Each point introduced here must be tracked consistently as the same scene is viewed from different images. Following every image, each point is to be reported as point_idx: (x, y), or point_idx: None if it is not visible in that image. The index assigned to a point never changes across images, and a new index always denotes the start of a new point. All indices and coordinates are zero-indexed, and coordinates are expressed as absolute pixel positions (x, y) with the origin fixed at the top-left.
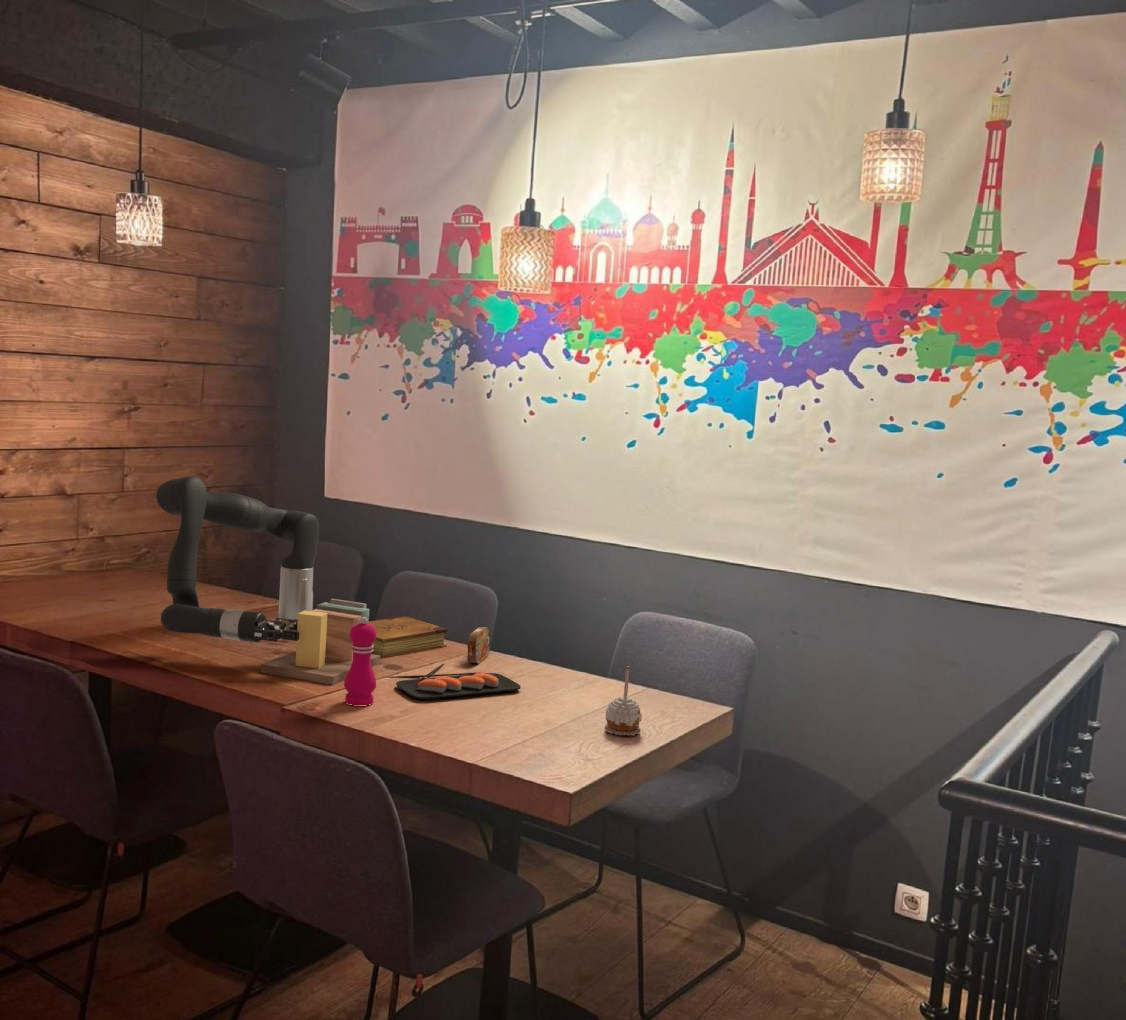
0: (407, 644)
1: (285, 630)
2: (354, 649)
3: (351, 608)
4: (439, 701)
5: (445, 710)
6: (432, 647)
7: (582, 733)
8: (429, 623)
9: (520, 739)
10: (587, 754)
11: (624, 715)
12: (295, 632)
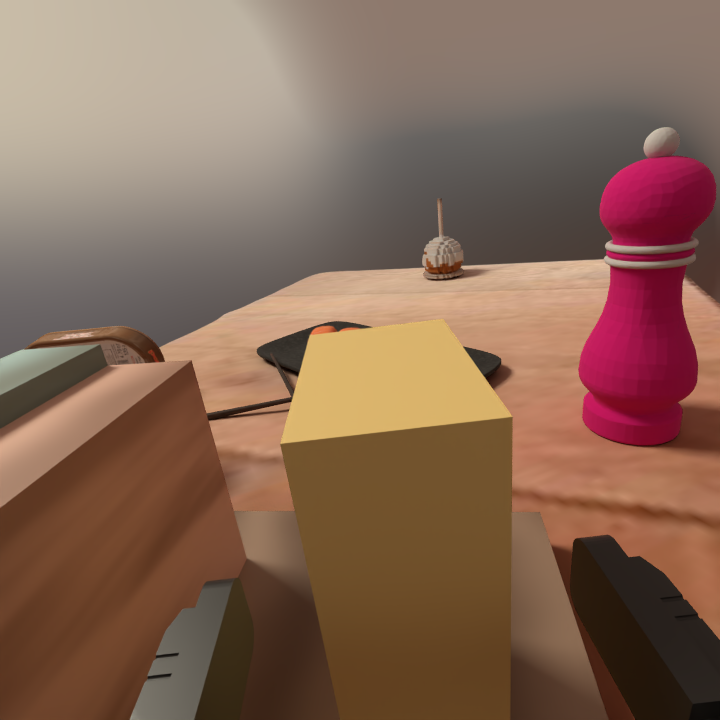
0: None
1: (701, 680)
2: (694, 249)
3: None
4: None
5: (511, 341)
6: None
7: (475, 282)
8: None
9: (552, 290)
10: (540, 270)
11: (460, 249)
12: (620, 555)
